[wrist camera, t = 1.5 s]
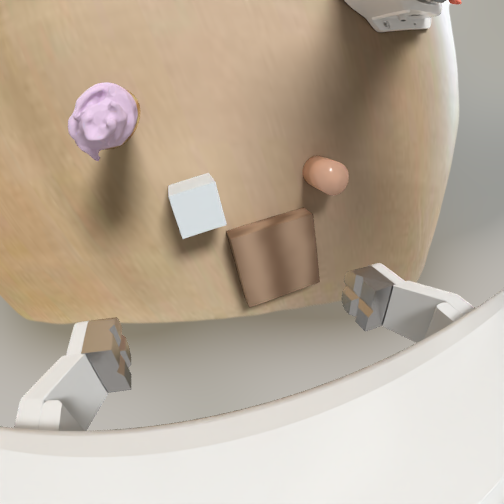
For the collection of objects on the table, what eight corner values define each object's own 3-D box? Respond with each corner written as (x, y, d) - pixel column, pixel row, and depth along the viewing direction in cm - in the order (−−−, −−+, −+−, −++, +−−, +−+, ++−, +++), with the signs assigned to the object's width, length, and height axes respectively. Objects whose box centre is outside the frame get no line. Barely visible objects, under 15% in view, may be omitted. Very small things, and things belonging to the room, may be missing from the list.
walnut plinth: (303, 207, 42) (312, 214, 40) (311, 272, 48) (319, 281, 46) (226, 231, 41) (230, 239, 38) (244, 296, 47) (249, 307, 44)
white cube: (208, 172, 36) (215, 181, 32) (218, 210, 39) (226, 224, 34) (168, 185, 36) (168, 196, 31) (180, 222, 38) (182, 239, 34)
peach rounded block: (328, 153, 40) (347, 158, 35) (331, 182, 42) (350, 190, 38) (300, 159, 39) (317, 165, 35) (305, 189, 41) (321, 198, 37)
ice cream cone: (131, 152, 32) (109, 175, 19) (90, 135, 29) (43, 149, 17) (155, 105, 30) (147, 95, 18) (113, 87, 28) (78, 68, 15)
